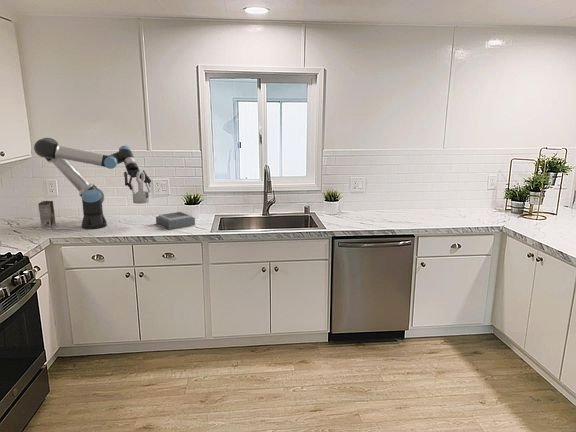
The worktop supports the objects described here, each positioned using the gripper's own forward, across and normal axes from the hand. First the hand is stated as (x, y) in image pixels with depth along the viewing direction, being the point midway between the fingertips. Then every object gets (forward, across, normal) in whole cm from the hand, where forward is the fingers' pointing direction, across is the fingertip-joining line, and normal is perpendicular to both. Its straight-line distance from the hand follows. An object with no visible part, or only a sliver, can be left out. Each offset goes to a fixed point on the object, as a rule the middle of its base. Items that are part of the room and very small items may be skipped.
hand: (142, 192), depth 280 cm
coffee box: (-10, +49, -43) cm, 66 cm away
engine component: (+3, 0, -7) cm, 8 cm away
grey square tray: (+22, -18, -10) cm, 30 cm away
